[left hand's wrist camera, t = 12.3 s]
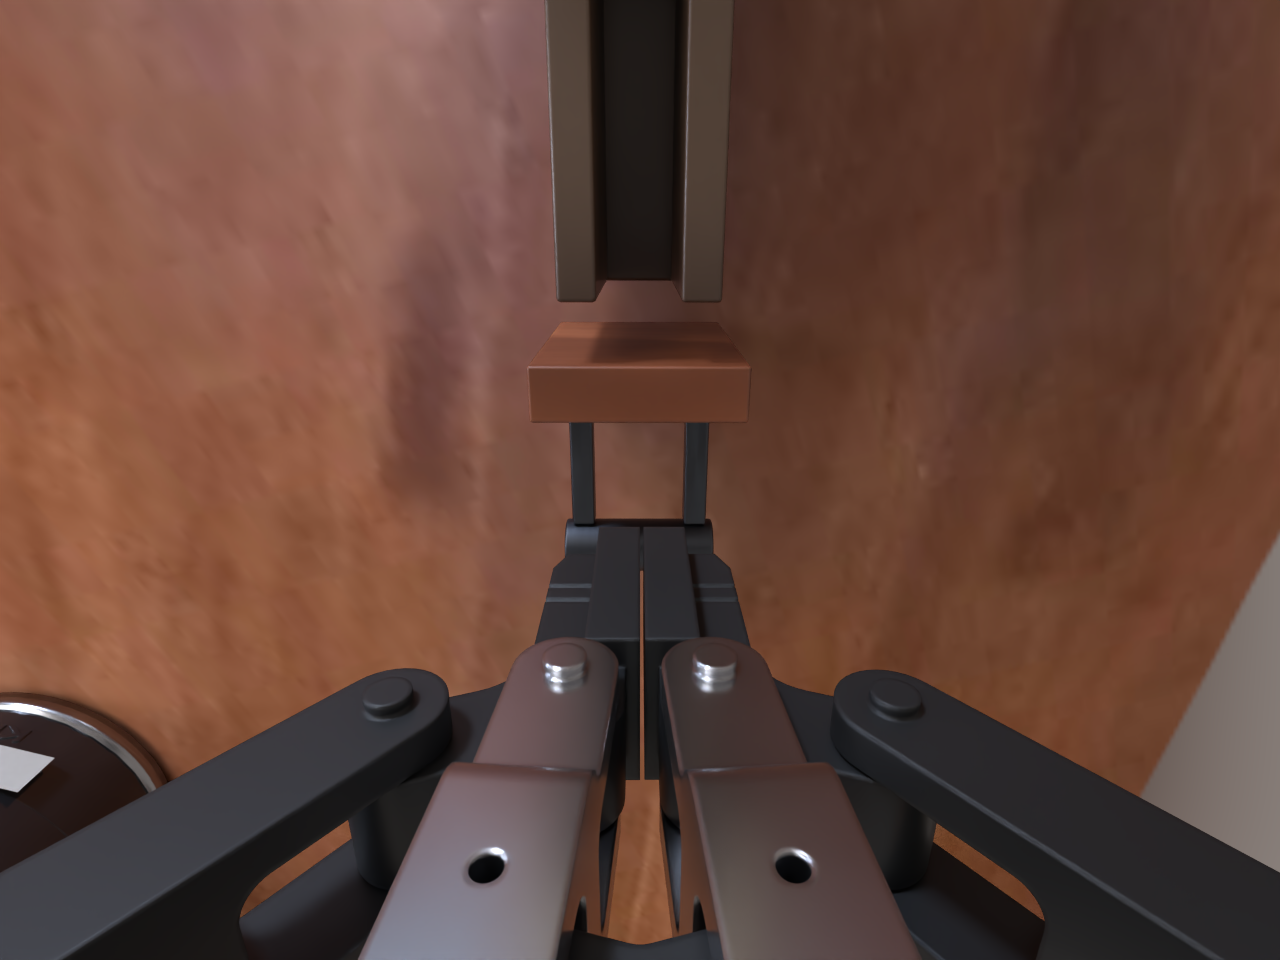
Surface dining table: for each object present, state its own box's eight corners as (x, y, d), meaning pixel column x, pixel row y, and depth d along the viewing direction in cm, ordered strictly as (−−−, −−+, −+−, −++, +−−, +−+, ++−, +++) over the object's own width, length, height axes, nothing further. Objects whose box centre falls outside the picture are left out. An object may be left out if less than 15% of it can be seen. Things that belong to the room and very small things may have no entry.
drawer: (709, 523, 22) (736, 636, 16) (568, 523, 22) (541, 637, 16) (757, -638, 13) (851, -1327, 7) (522, -638, 13) (428, -1330, 7)
